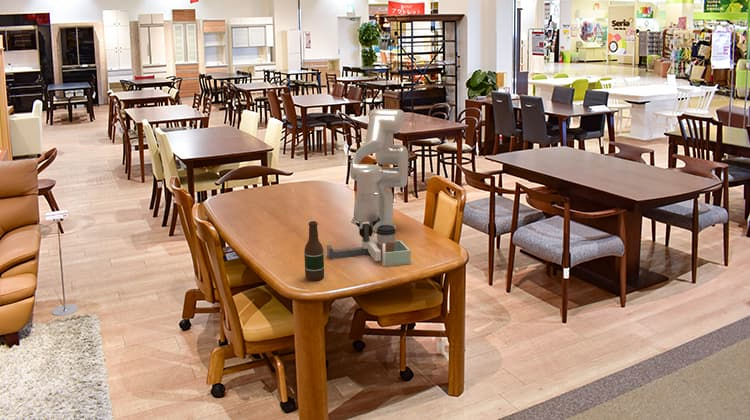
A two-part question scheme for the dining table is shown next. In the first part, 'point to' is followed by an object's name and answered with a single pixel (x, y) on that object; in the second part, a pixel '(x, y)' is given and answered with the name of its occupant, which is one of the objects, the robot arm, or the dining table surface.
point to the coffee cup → (386, 238)
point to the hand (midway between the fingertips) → (366, 235)
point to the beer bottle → (314, 255)
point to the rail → (346, 252)
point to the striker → (370, 244)
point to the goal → (395, 254)
